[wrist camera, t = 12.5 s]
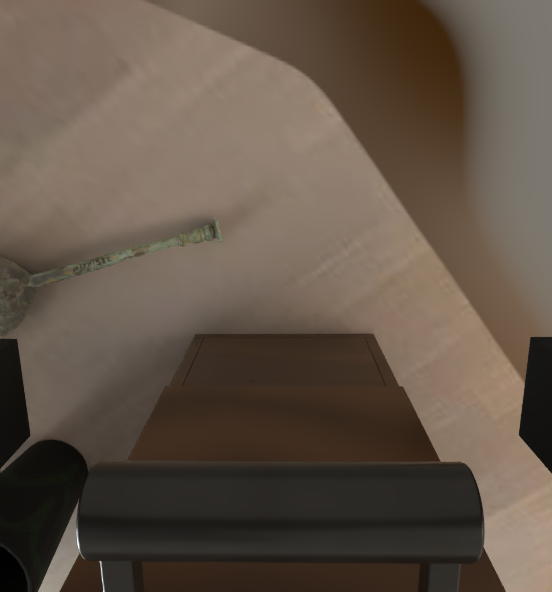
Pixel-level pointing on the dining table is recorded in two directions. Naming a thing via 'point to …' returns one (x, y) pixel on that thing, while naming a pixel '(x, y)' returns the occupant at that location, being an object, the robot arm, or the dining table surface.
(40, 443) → the cup
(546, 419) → the robot arm
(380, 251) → the dining table surface
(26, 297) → the soupspoon
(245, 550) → the lid
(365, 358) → the chest
